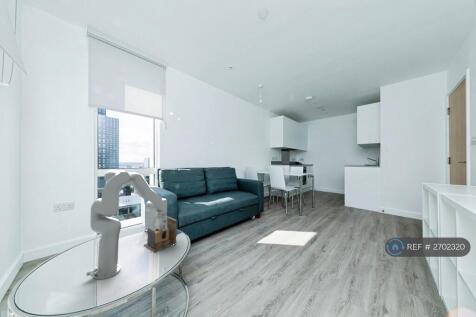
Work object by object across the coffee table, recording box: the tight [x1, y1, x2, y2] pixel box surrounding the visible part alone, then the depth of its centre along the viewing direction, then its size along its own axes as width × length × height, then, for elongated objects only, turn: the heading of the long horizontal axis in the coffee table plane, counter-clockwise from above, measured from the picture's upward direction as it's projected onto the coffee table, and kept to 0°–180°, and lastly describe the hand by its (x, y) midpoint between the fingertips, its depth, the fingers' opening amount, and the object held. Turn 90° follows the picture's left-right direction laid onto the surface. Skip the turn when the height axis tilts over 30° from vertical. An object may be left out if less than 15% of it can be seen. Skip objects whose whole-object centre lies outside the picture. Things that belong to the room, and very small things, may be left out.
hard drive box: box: [144, 209, 156, 231], centre depth 166 cm, size 16×8×20 cm, turn 84°
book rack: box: [143, 215, 178, 253], centre depth 139 cm, size 18×16×19 cm
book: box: [155, 228, 169, 244], centre depth 139 cm, size 12×4×10 cm, turn 142°
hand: (160, 236), depth 139 cm, fingers open, 9 cm apart
